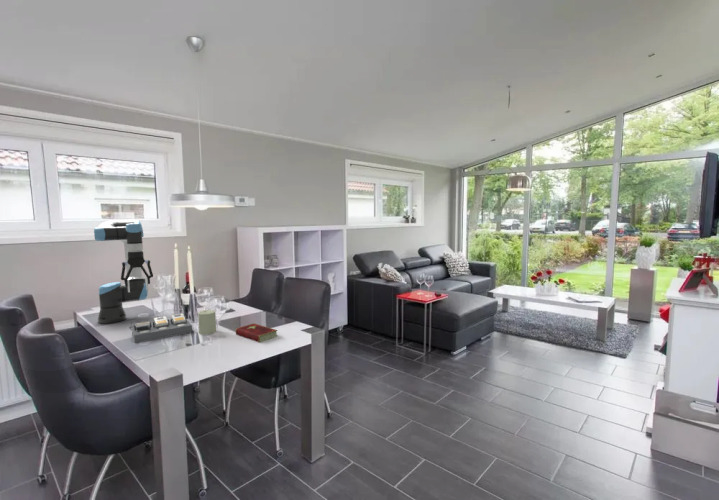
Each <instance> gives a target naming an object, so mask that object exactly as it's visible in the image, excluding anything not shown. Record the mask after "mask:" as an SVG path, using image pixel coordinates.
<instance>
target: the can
mask: <svg viewBox="0 0 719 500" xmlns="http://www.w3.org/2000/svg"><path fill="white" fill-rule="evenodd" d="M211 310H212V311H211ZM197 314H198V315H197V317H198V334H199V335H204V336H205V335H212V334H215V333H216V332H217V321H216V320H217V319H216V318H217V317H216V310H214V309H206V310H201V311H198V313H197Z"/></svg>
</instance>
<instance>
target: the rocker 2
mask: <svg viewBox="0 0 719 500" xmlns="http://www.w3.org/2000/svg"><path fill="white" fill-rule="evenodd" d="M184 316H185V315H184V313H176V314H171V317H170V319H171V318H172V321H173V322H174V324H175V323H181V322H186V319H187V318H186V319H185V317H184Z"/></svg>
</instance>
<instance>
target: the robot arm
mask: <svg viewBox="0 0 719 500" xmlns="http://www.w3.org/2000/svg"><path fill="white" fill-rule="evenodd" d="M93 235H94V241H97V242H105V241H121V242H122V243H123V247H124V260H125V261H121V265H122V269H121V273H120V280H122V281H124V283H121V281H116V282H115V281H113V282H108V283H106V284H102V285H100V286H99V288H98V297H99V308H100V310H99V313H98V315H97V323H99V324H112V323H118V322H122V321H124V320H126V319H127V313H126V311H125V310H124V306H123V303H128V302H135V301H136V302H138V301H143V300H144V301H145V300H146V299H147V298H148V293H149V292H148V291H149V285H151V278H153V277H154V273H153V270H152V267H151V266H152V265H151V260H149V259H147V260H146V259H145V258H144V251H143V250H144V245H143V238H144V229H143V225H142V222H141V221H140V220H137V219H136V220H135V219H128V220H127V219H124V220H123V219H122V220H118V219H117V220H108V221H105V222H102V223H100V224H99V225H98V227H95V228H93ZM144 264H146V265H147V270H148V272H147V270H146V269H145V267H144V266H143V265H144ZM125 272H126V273H125ZM148 273H149V274H148ZM125 274H126V275H125ZM143 274H144V275H145V276H146V277H145V278H144V277H143Z"/></svg>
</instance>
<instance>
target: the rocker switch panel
mask: <svg viewBox="0 0 719 500" xmlns="http://www.w3.org/2000/svg"><path fill="white" fill-rule="evenodd" d="M184 317H185V319H186V322H181V323H175V324H174V322H173V320H172V318H171V317H170V318H167V321H168V325H163V326H157V327H156V325H155V322H154V320H153V321H152V322H151V321H149V322H150V325H144V326H138V327H136V323H134V324H133V327H131V328H130V330H131V336H132V339H133V341H134V343H135V344H136V343H141V342H147V341H151V340H156V339H157V340H158V339H163V338H168V337H174V336H179V335H185V334H189V333H193V324H192V323H191V322H190V321H189V320H188V319H187V316H186V315H184Z"/></svg>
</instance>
